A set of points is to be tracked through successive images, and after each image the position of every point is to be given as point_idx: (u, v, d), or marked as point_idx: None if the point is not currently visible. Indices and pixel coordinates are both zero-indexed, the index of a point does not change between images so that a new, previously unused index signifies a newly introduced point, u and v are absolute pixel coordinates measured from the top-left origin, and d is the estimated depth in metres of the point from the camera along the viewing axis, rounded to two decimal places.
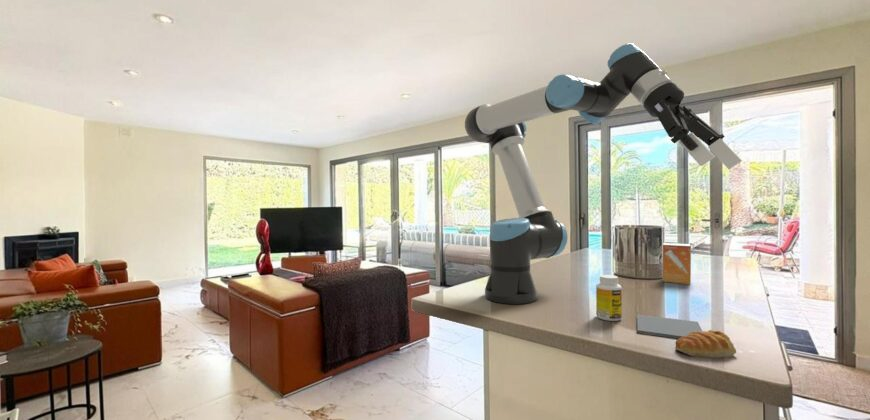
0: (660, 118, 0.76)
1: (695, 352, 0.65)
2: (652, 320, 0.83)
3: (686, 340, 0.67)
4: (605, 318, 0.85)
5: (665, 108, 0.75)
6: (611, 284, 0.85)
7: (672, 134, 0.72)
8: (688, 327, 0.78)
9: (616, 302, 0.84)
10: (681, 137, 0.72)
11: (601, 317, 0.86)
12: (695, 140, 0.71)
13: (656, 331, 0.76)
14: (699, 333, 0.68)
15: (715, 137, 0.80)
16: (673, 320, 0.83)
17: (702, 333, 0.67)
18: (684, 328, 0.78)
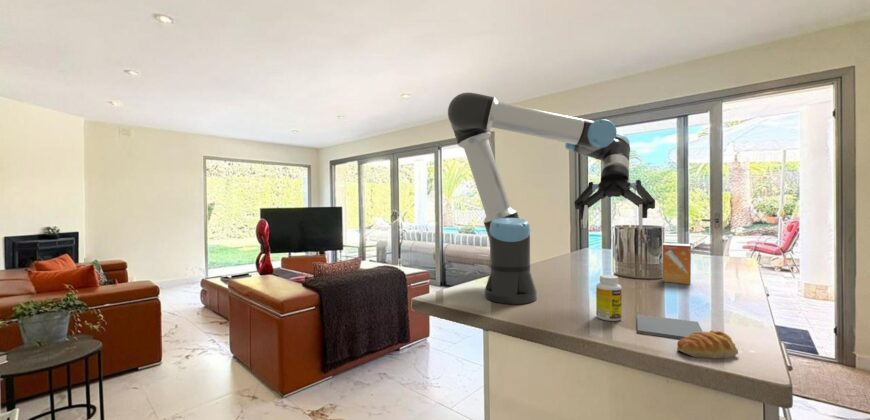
0: None
1: (698, 353, 0.64)
2: (652, 320, 0.83)
3: (688, 340, 0.66)
4: (605, 318, 0.85)
5: None
6: (611, 284, 0.85)
7: (654, 203, 0.95)
8: (688, 327, 0.78)
9: (616, 302, 0.84)
10: (647, 207, 0.96)
11: (601, 317, 0.86)
12: None
13: (656, 331, 0.76)
14: (701, 334, 0.67)
15: None
16: (673, 320, 0.83)
17: (704, 333, 0.67)
18: (684, 328, 0.78)
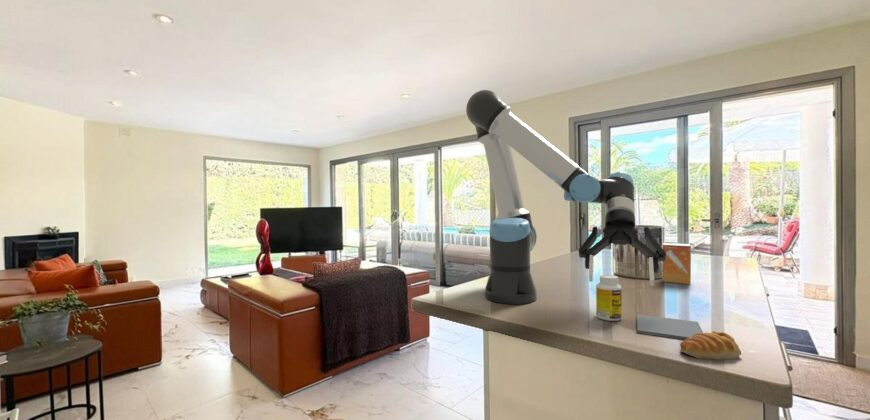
0: None
1: (702, 354, 0.64)
2: (652, 320, 0.83)
3: (692, 341, 0.66)
4: (605, 318, 0.85)
5: None
6: (611, 284, 0.85)
7: (665, 256, 0.89)
8: (688, 327, 0.78)
9: (616, 302, 0.84)
10: (658, 260, 0.89)
11: (601, 317, 0.86)
12: None
13: (656, 331, 0.76)
14: (704, 335, 0.67)
15: None
16: (673, 320, 0.83)
17: (707, 334, 0.67)
18: (684, 328, 0.78)
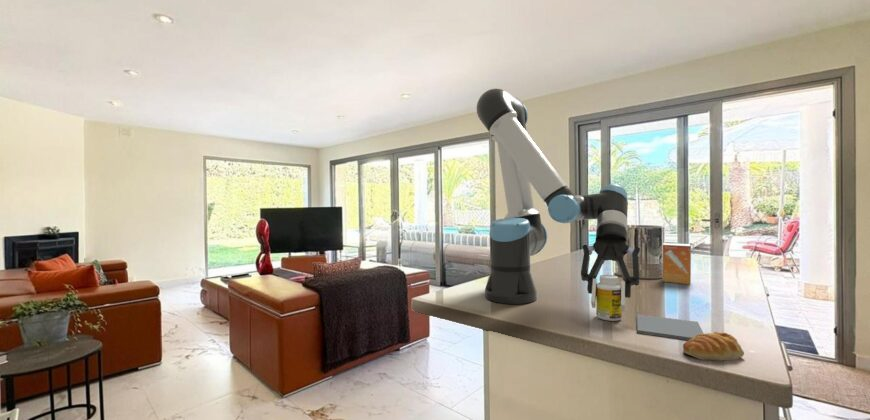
0: None
1: (705, 355, 0.63)
2: (652, 320, 0.83)
3: (695, 343, 0.65)
4: (605, 318, 0.85)
5: None
6: (611, 284, 0.85)
7: (638, 280, 0.85)
8: (688, 327, 0.78)
9: (616, 302, 0.84)
10: (630, 284, 0.85)
11: (601, 317, 0.86)
12: None
13: (656, 331, 0.76)
14: (706, 335, 0.66)
15: None
16: (673, 320, 0.83)
17: (709, 335, 0.66)
18: (684, 328, 0.78)
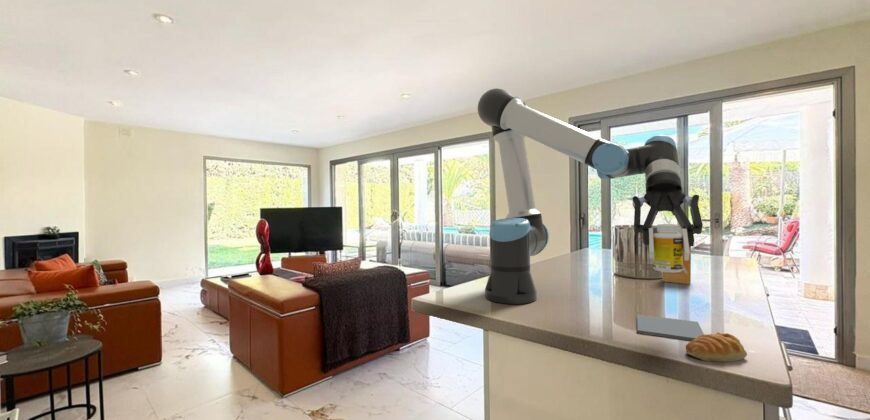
0: None
1: (708, 356, 0.63)
2: (652, 320, 0.83)
3: (698, 343, 0.65)
4: (665, 269, 0.77)
5: None
6: (671, 232, 0.77)
7: (701, 227, 0.77)
8: (688, 327, 0.78)
9: (678, 251, 0.76)
10: (693, 232, 0.77)
11: (660, 269, 0.78)
12: None
13: (656, 331, 0.76)
14: (709, 336, 0.66)
15: None
16: (673, 320, 0.83)
17: (712, 336, 0.66)
18: (684, 328, 0.78)
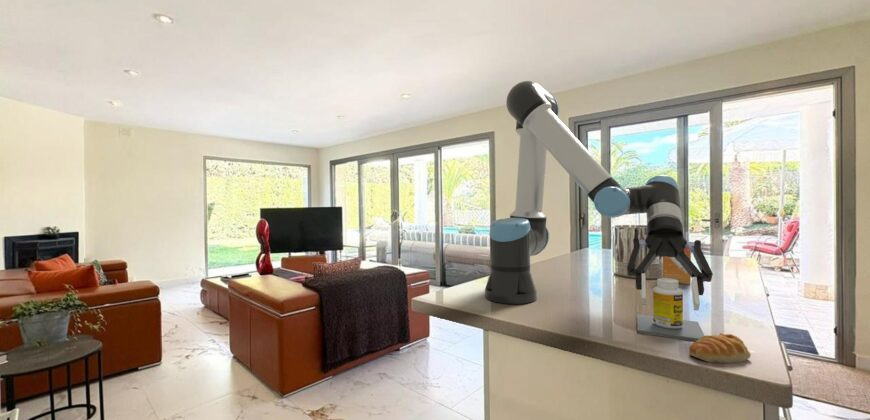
0: None
1: (713, 358, 0.62)
2: (652, 320, 0.83)
3: (702, 345, 0.64)
4: (665, 326, 0.77)
5: None
6: (671, 288, 0.78)
7: (711, 276, 0.77)
8: (688, 327, 0.78)
9: (678, 308, 0.77)
10: (702, 281, 0.77)
11: (660, 324, 0.78)
12: None
13: (656, 331, 0.76)
14: (712, 337, 0.66)
15: None
16: None
17: (715, 337, 0.65)
18: (684, 328, 0.78)
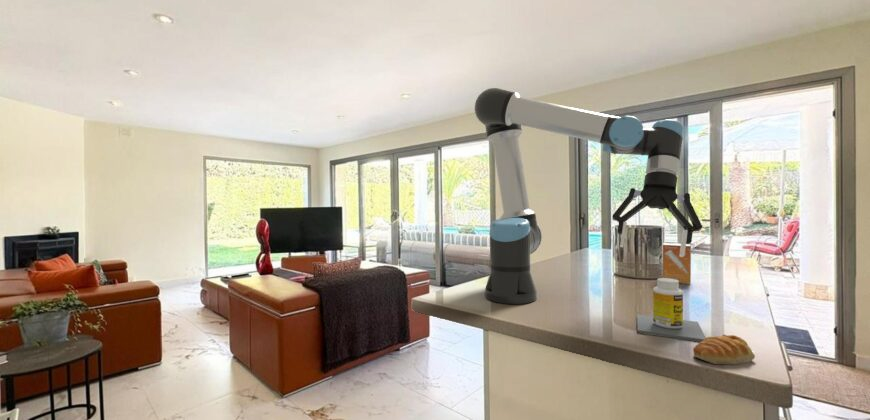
0: None
1: (718, 359, 0.62)
2: (652, 320, 0.83)
3: (706, 346, 0.64)
4: (665, 326, 0.77)
5: None
6: (671, 288, 0.78)
7: (700, 228, 0.90)
8: (688, 327, 0.78)
9: (678, 308, 0.77)
10: (692, 232, 0.91)
11: (660, 324, 0.78)
12: None
13: (656, 331, 0.76)
14: (717, 339, 0.65)
15: (625, 221, 0.99)
16: None
17: (720, 338, 0.65)
18: (684, 328, 0.78)
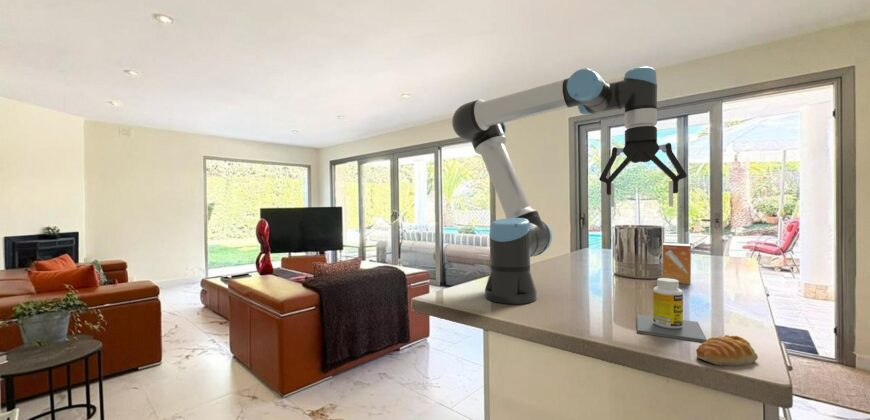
0: None
1: (721, 361, 0.61)
2: (652, 320, 0.83)
3: (709, 347, 0.63)
4: (665, 326, 0.77)
5: None
6: (671, 288, 0.78)
7: (685, 176, 0.91)
8: (688, 327, 0.78)
9: (678, 308, 0.77)
10: None
11: (660, 324, 0.78)
12: None
13: (656, 331, 0.76)
14: (719, 339, 0.65)
15: (612, 180, 1.01)
16: None
17: (722, 339, 0.64)
18: (684, 328, 0.78)
